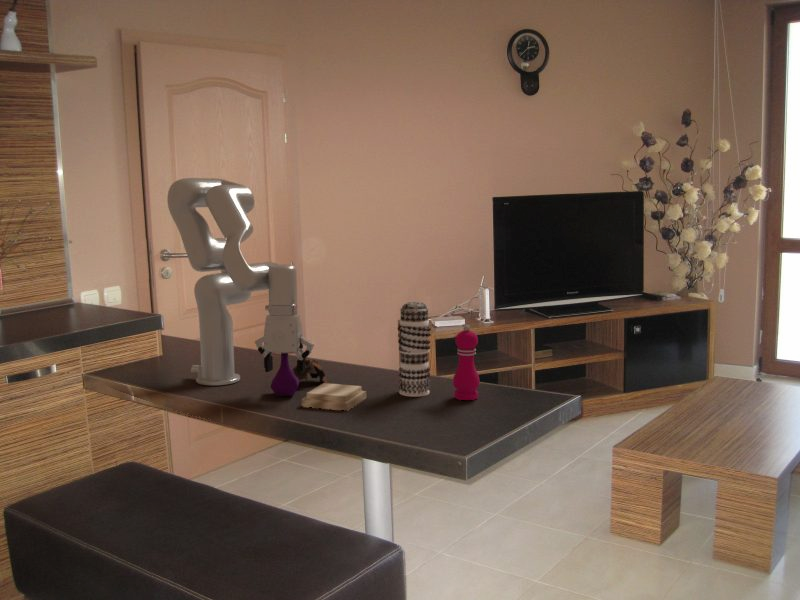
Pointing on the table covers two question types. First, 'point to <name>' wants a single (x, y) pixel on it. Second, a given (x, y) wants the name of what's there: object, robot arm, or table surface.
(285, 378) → the perfume bottle
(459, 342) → the pepper mill
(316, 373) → the pottery mug
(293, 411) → the table surface
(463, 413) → the table surface
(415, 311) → the decorative candle
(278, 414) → the table surface
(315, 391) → the plinth
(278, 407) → the table surface
